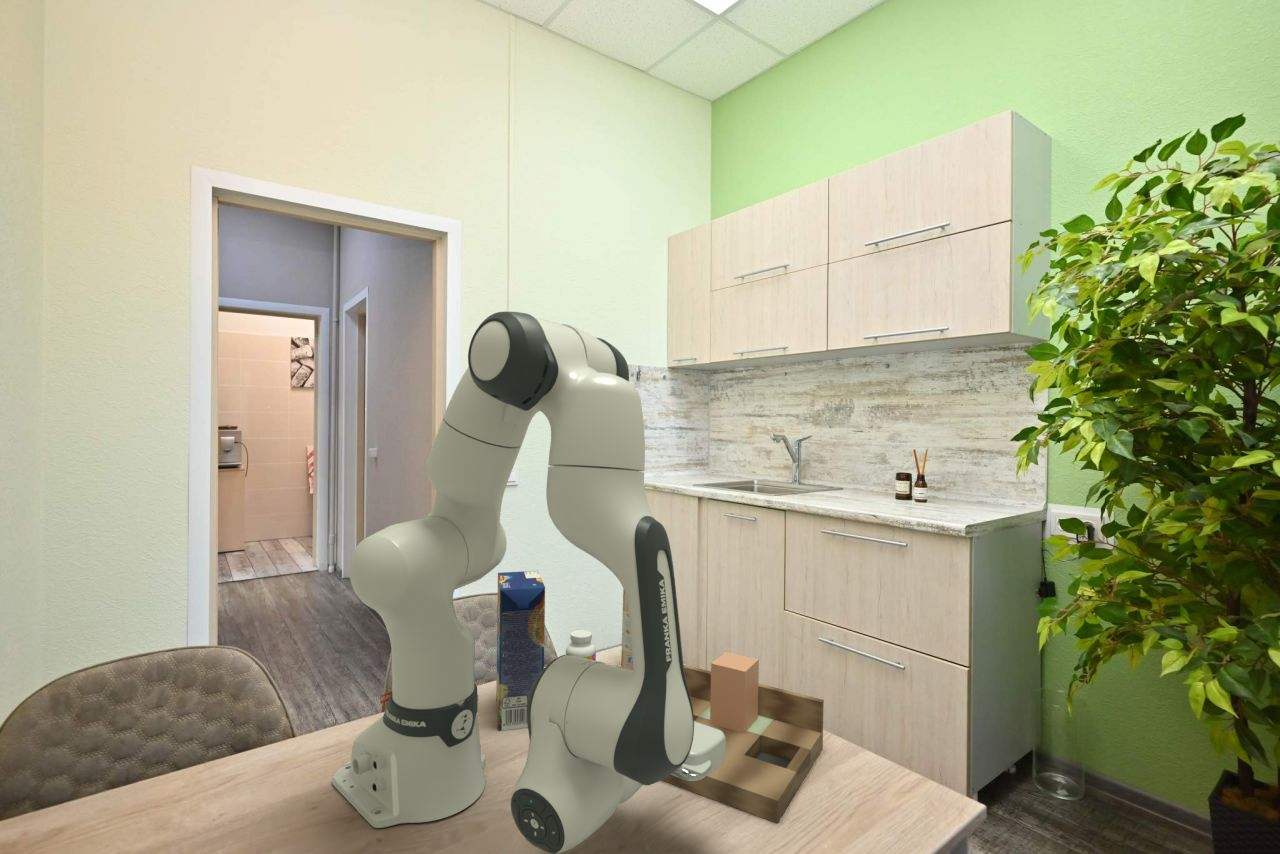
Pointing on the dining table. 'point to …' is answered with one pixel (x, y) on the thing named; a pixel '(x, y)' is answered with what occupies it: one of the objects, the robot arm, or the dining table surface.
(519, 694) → the juice carton
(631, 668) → the cracker box
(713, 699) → the terracotta block
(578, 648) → the supplement bottle
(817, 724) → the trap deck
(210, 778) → the dining table surface
